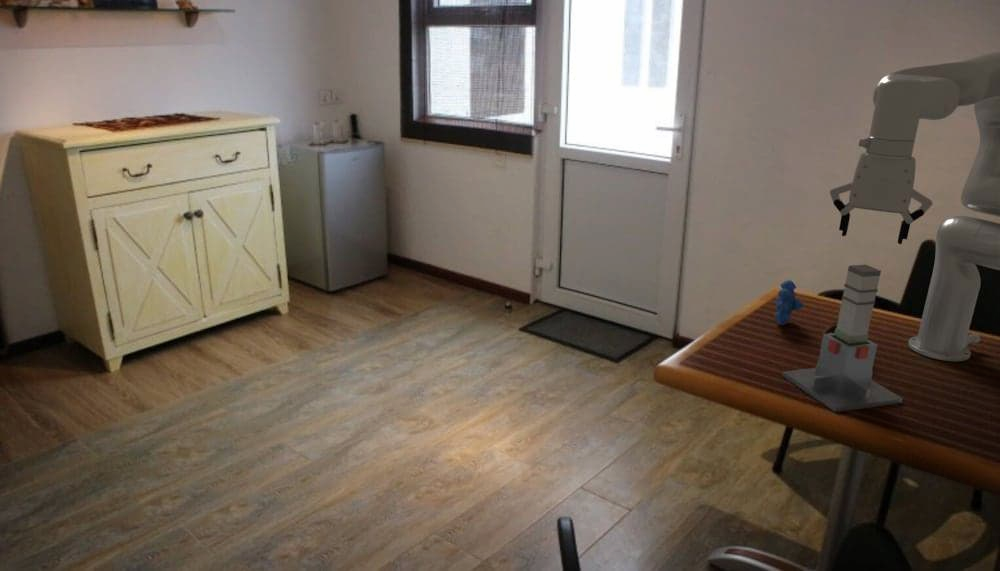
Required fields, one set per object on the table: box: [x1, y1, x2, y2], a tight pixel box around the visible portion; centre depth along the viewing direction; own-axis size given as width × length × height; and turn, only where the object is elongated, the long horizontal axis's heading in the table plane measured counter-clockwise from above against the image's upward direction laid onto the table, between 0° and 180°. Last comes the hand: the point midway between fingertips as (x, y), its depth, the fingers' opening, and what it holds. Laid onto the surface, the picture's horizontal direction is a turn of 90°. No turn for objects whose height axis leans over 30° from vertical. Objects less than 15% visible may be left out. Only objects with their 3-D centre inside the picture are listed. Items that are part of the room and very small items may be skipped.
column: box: [834, 264, 882, 346], centre depth 148 cm, size 4×4×19 cm
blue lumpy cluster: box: [774, 279, 805, 326], centre depth 183 cm, size 12×7×12 cm, turn 150°
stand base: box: [781, 332, 904, 413], centre depth 151 cm, size 16×16×11 cm
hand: (871, 238), depth 143 cm, fingers open, 9 cm apart
